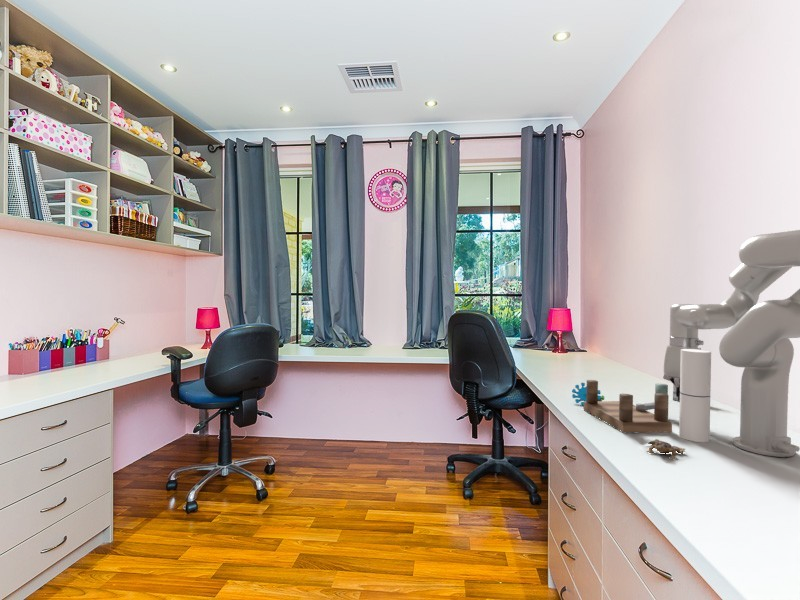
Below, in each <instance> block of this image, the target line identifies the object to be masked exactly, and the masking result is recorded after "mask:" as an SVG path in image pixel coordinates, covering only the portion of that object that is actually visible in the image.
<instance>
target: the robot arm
mask: <svg viewBox="0 0 800 600" xmlns="http://www.w3.org/2000/svg"><path fill="white" fill-rule="evenodd" d="M738 258H739V260H740V262H741V264H740V265H739V266H738V267H736V268H735V269H734V270H733V271H732V272H731V273H730V274H729V276H728V279H729V282H730V284H731V286H732V287H733V288H734V291H733V292H732V293H731V294H730V295H729V296H728V297H727V298H726V299H725V300H724V301H722V302H721V303H711V304H710V303H708V304H705V303H704V304H703V303H702V304H689V303H676V304H675V303H674V304H673V305H671V306H670V312H669V313H670V314H669V345H667V347H666V349H665V355H664V361H663V376H662V377H663V379H664V380H667V381H669V382H670V383H672V385H673V384H674V385H675V387H676V397H678V400H680V362H681V349H698V350H702V348H701V347H699V346H703V345H704V343H705V342H704V340H701V339H699V330H722V329H723V330H724V329H728V331H727V332H726V333H725V334H724V335H723V336H722V339H721V340H720V343H719V347H718V350H719V355H720V357H721V359H722V360H723V361H724V362H725V363H727V364H728V365H730V366H732V367H736V368H744V369H743V372H742V375H741V379H740V380H741V381H740V413H739V414H740V424H739V435H738V436H735V437H733V438H732V444H733V445H734V446H736V447H737V448H739V449H741V450H744V451H747V452H749V453H754V454H757V455H758V454H759V455H762V456H763V455H764V456H769V457H778V458H787V457H788V458H789V457H793V456H795V454H796V453H797V452H799V451H800V447H799V446H798V445H795V444H794V443H793V444H792V442H791V441H792V438H791V437H790V436H788V408H789V407H788V406H789V405H788V403H789V402H788V401H789V382H790V381H789V379H790V372H791V367H792V365H793V364H792V363H793V359H794V355H795V353H794V352H795V349H794V346H793V345H794V344H793V343H792V341H791V340H790V339H800V288H799V289H797V290H796V291H795V292H794V293H793V294H792V295H790V296H789V297H787V298H785V299H769V300H764V301H761V302H759V303H758V301H759V298H760V295H761V293H763V292H764V291H766V290H767V289H768V288H769V287H770V286H772V284H774V283H775V282H776V281H777V280H778V279H780V278H781V277H782V276H783V275H784V274H785V273H787V272H788V271H789V270H790V269H792V268H793V267H800V229H796V230H788V231H782V232H773V233H772V232H771V233H764V234H757V235H754V236H751V237H750V238H748V239H747V240H746V241H745V242H743V243H742V244H741V246H740V248H739V251H738ZM729 328H730V329H729Z"/></svg>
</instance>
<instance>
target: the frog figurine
mask: <svg viewBox="0 0 800 600" xmlns="http://www.w3.org/2000/svg"><path fill="white" fill-rule="evenodd" d="M646 443H648V444H652V446H649V449H648V450H646V452H649V453H654V452H655V451H653V450H652V449H653V448H655V449H657V451H659V452H660V453H665V454H666V453H669V452H672V455H669V456H670V458H672V459H671V460H673V459H675V458H676V456H677V453H676V451H677V452H678V453H681V454H683V452H685V453H686V451H685V450H686V448H682V447H680V446H675V445H672V444H671V443H669V442H667V441H663V440H659V439H656V438H655V439H652V440H650V441H649V442H645V443H644V444H646Z"/></svg>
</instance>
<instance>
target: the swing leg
mask: <svg viewBox="0 0 800 600" xmlns="http://www.w3.org/2000/svg"><path fill="white" fill-rule="evenodd" d="M655 393H662V394H667V395H669V384H665V383H655V387H654V394H655ZM635 406H636V410H638V411H645V410H646V411H650V410H654V402H648V403H635Z"/></svg>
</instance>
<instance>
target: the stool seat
mask: <svg viewBox="0 0 800 600" xmlns="http://www.w3.org/2000/svg"><path fill="white" fill-rule="evenodd" d="M586 386H587V392H586V402H584V401H583V402H584V406H583V409H584V410H586V411H587V412H586V411H585V412H586V413H588V412H589V413H588V414H590V413H591V414H592V415H591V414H590V415H591V416H593V415H594V416H593V417H595V416H596V417H595V418H597V417H598V418H600V419H601V421H602V420H603V421H605V422H607V423H608V424H607V423H606V424H607V425H609V424H610V425H612V426H614V427H615V428H614V427H613V428H614V429H616V428H617V429H619V430H621V431H622V432H621V431H620V432H621V433H623V432H639V433H673V422H672V421H671V420H669V397H670V395H669V394H668V395H667V394H662V393H655V392H654V400H653V401H654V409H653V411H654V412H653V413H652V412H651V411H649V410H645V411H638V410H636V404H635V405H634V395H633V394H629V393H619V396H618V397H619V398H618V399H619V400H615V401H614V400H612V401H611V400H610V401H609V400H606V401H605V400H602V401H598V396H599V394H598V390H599V381H598V380H595V379H587V380H586ZM584 410H583V411H584ZM598 418H597V419H598ZM600 419H599V420H600ZM603 421H602V422H603ZM605 422H604V423H605ZM610 425H609V426H610ZM612 426H611V427H612ZM617 429H616V430H617ZM619 430H618V431H619Z"/></svg>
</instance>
